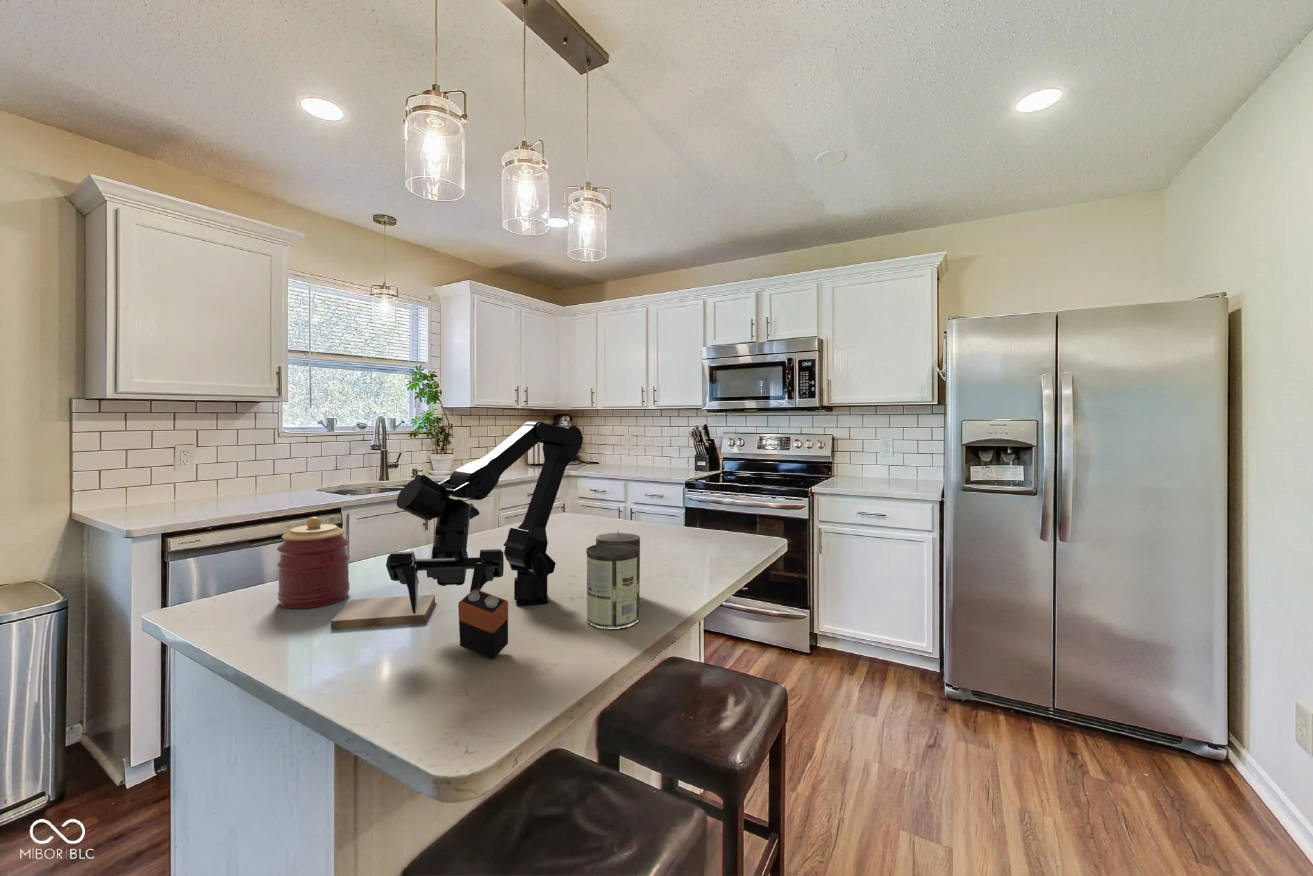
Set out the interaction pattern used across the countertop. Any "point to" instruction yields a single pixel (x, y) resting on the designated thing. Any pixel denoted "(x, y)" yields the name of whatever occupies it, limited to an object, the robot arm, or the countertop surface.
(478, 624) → the battery
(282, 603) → the canister
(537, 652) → the countertop surface
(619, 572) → the coffee can
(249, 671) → the countertop surface
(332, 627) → the walnut cutting board
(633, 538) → the pillar candle
